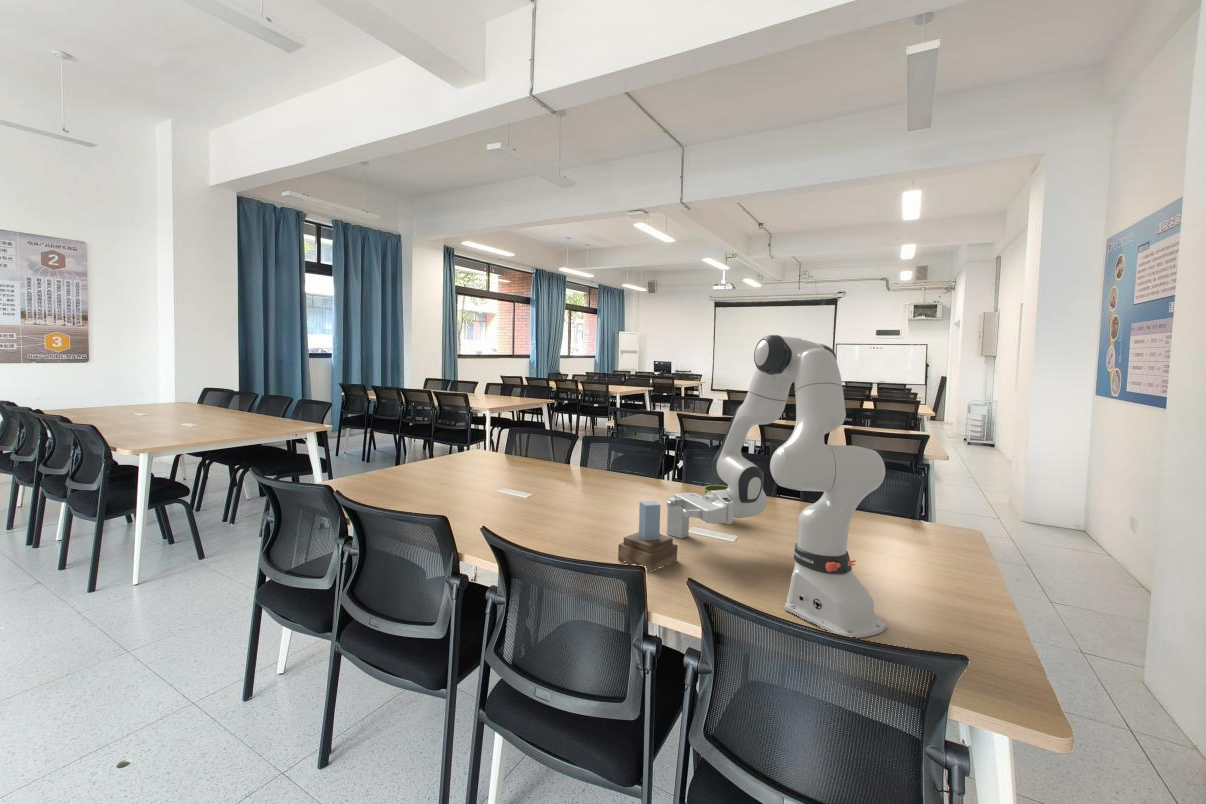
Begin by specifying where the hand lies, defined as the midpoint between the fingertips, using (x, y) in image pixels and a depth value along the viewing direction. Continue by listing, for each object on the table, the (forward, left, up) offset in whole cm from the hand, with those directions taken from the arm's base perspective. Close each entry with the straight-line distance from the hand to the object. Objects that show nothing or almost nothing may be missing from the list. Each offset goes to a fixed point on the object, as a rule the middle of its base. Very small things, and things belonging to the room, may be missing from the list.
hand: (675, 508), depth 158 cm
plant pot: (+28, -34, -15) cm, 46 cm away
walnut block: (0, +8, -15) cm, 17 cm away
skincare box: (+17, -11, -15) cm, 25 cm away
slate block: (0, +8, -8) cm, 11 cm away
